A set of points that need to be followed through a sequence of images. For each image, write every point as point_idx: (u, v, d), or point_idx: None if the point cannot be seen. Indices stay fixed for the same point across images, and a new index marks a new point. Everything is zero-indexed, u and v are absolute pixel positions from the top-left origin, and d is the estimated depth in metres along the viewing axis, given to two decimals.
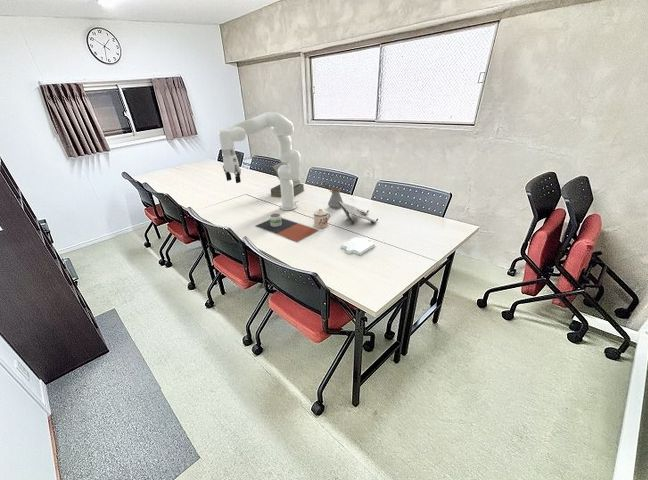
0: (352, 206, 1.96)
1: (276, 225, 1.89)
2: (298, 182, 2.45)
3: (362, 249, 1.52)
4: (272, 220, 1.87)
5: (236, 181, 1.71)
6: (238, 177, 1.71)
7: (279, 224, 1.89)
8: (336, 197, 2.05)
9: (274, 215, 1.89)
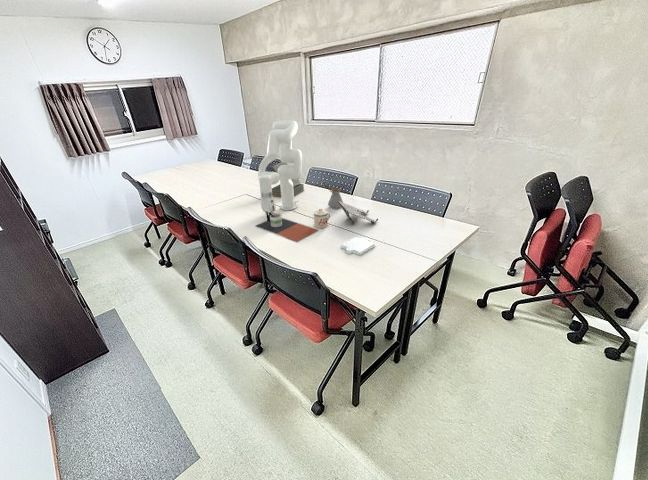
0: (352, 206, 1.96)
1: (276, 225, 1.88)
2: (298, 182, 2.45)
3: (362, 249, 1.52)
4: (272, 220, 1.87)
5: (268, 219, 1.93)
6: None
7: (279, 225, 1.89)
8: (336, 197, 2.05)
9: (274, 215, 1.88)
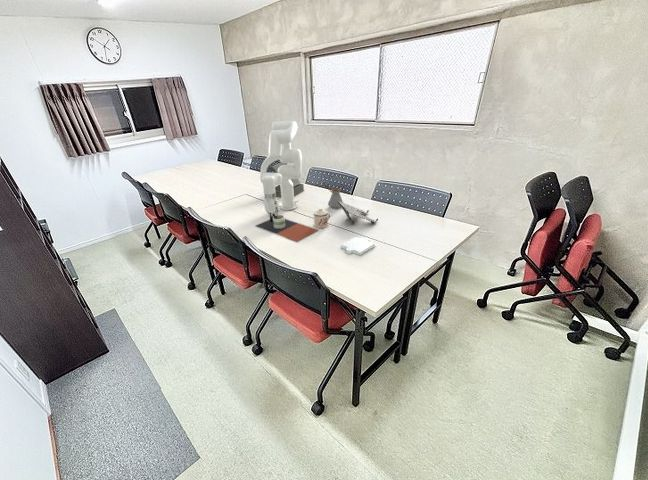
0: (352, 206, 1.96)
1: (279, 227, 1.86)
2: (298, 182, 2.45)
3: (362, 249, 1.52)
4: (275, 222, 1.84)
5: (271, 221, 1.91)
6: None
7: (282, 226, 1.86)
8: (336, 197, 2.05)
9: (277, 217, 1.86)
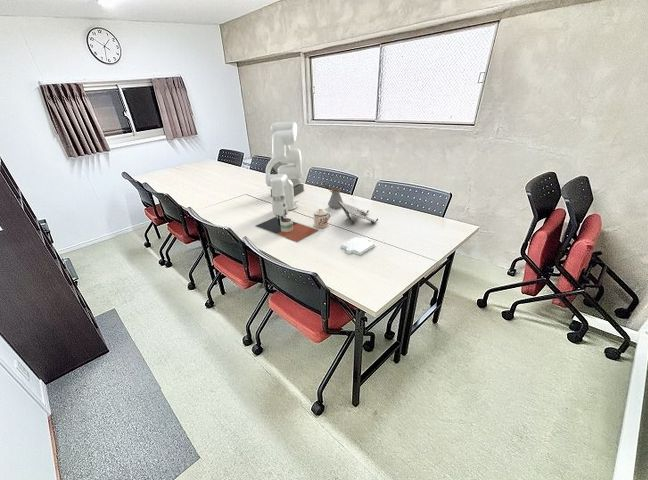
0: (352, 206, 1.96)
1: (286, 230, 1.80)
2: (298, 182, 2.45)
3: (362, 249, 1.52)
4: (282, 225, 1.79)
5: (279, 224, 1.86)
6: None
7: (289, 230, 1.81)
8: (336, 197, 2.05)
9: (285, 220, 1.81)
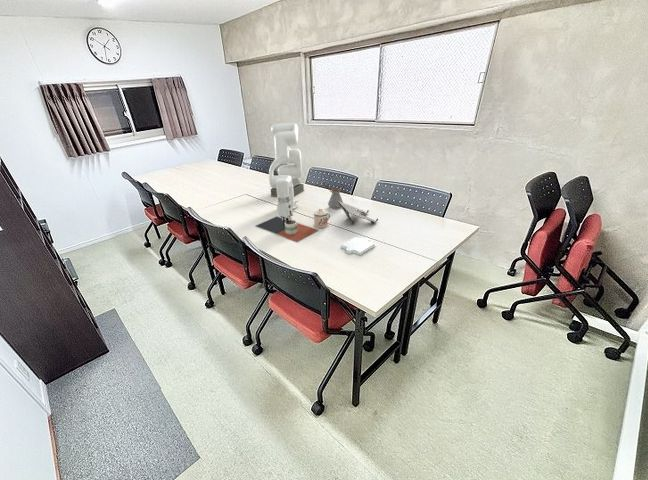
0: (352, 206, 1.96)
1: (290, 233, 1.77)
2: (298, 182, 2.45)
3: (362, 249, 1.52)
4: (286, 227, 1.76)
5: None
6: None
7: (293, 232, 1.77)
8: (336, 197, 2.05)
9: (289, 222, 1.77)
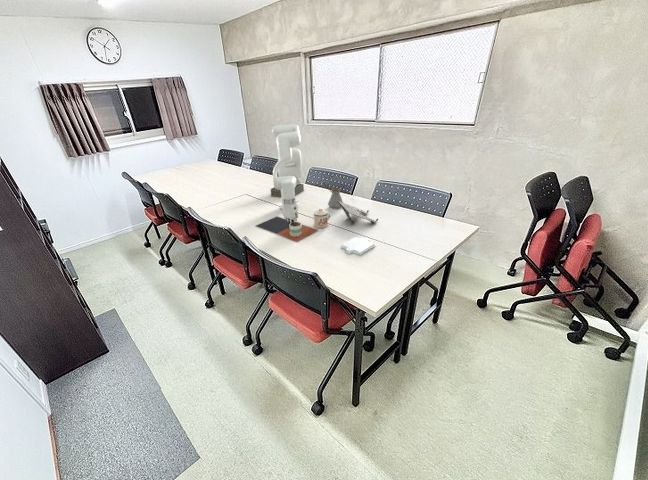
0: (352, 206, 1.96)
1: (295, 235, 1.74)
2: (298, 182, 2.45)
3: (362, 249, 1.52)
4: (291, 229, 1.73)
5: None
6: None
7: (297, 235, 1.74)
8: (336, 197, 2.05)
9: (294, 224, 1.74)
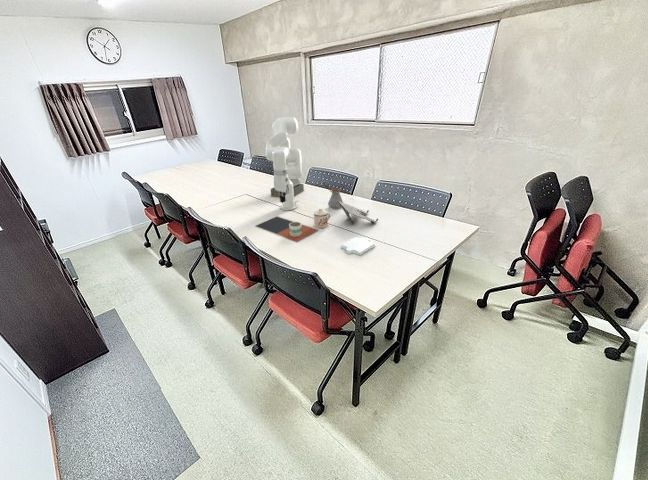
0: (352, 206, 1.96)
1: (295, 235, 1.74)
2: (298, 182, 2.45)
3: (362, 249, 1.52)
4: (291, 229, 1.73)
5: (282, 201, 1.76)
6: (284, 197, 1.75)
7: (297, 235, 1.74)
8: (336, 197, 2.05)
9: (294, 224, 1.74)
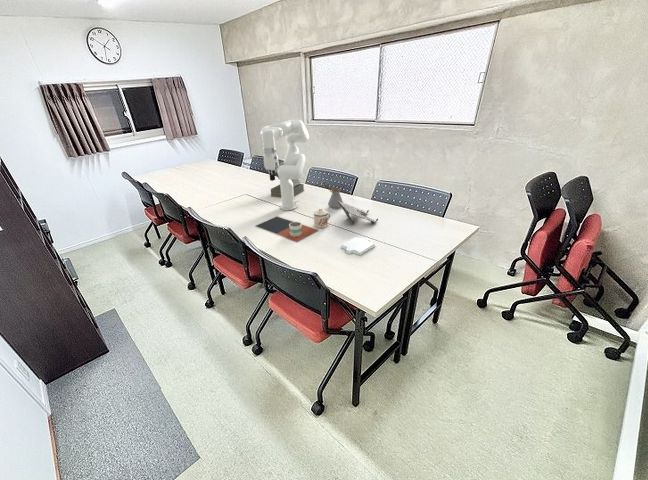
0: (352, 206, 1.96)
1: (295, 235, 1.74)
2: (298, 182, 2.45)
3: (362, 249, 1.52)
4: (291, 229, 1.73)
5: (271, 179, 1.86)
6: (273, 175, 1.85)
7: (297, 235, 1.74)
8: (336, 197, 2.05)
9: (294, 224, 1.74)
